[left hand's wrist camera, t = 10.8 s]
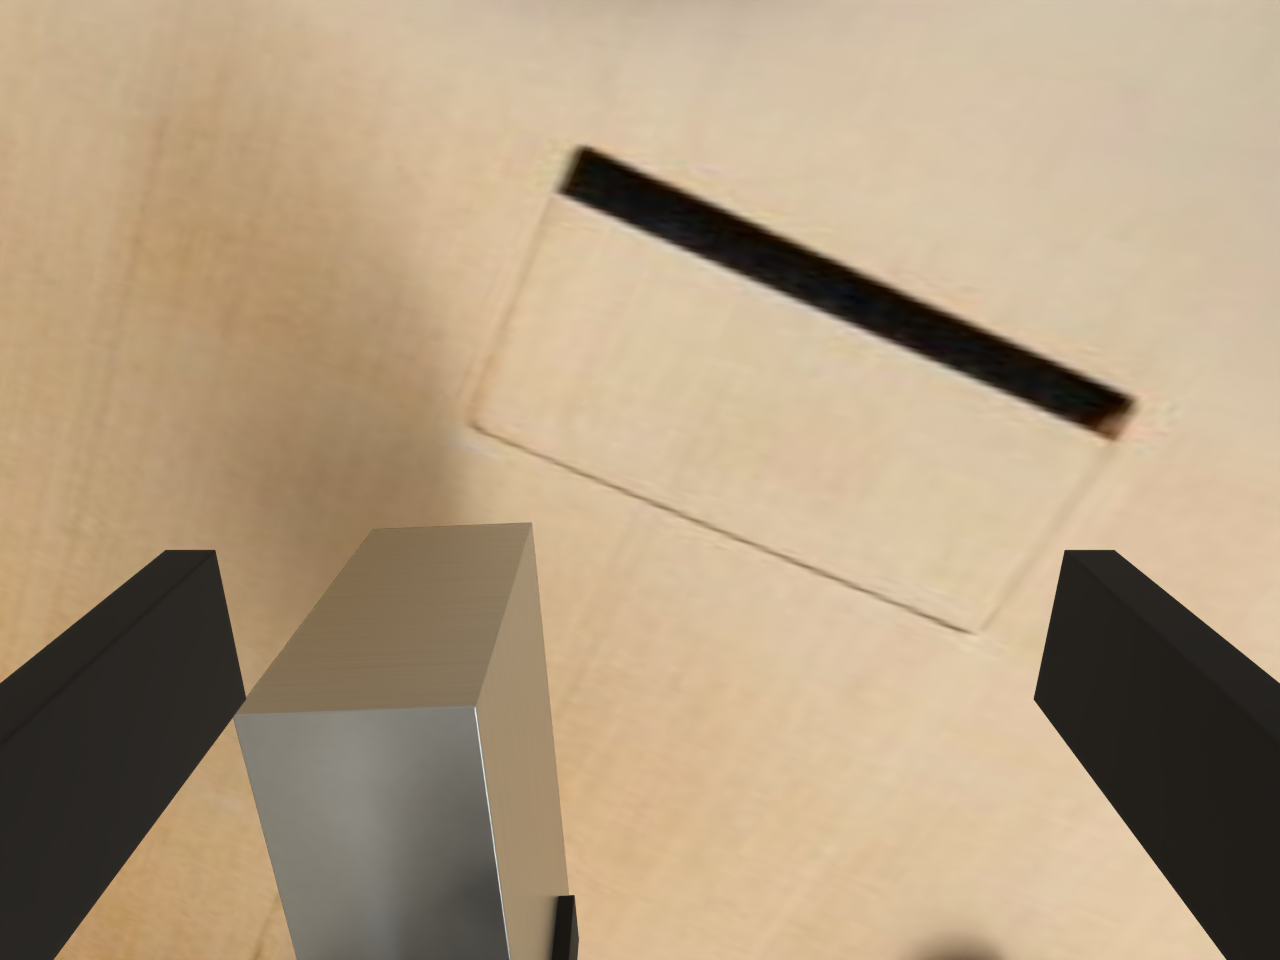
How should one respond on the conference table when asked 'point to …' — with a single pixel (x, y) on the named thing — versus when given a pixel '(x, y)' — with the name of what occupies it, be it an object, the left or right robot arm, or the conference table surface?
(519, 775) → the box
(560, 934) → the right robot arm
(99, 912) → the conference table surface
